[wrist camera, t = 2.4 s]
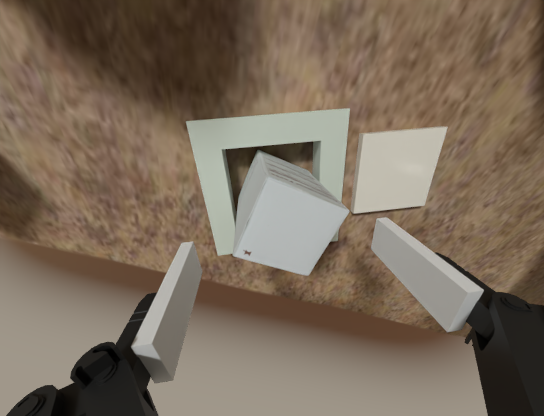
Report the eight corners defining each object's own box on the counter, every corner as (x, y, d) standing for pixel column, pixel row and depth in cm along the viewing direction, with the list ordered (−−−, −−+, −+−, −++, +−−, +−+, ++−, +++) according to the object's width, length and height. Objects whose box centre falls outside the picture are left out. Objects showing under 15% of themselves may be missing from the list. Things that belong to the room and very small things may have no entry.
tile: (440, 126, 26) (447, 126, 25) (419, 202, 31) (424, 205, 30) (359, 133, 25) (363, 134, 24) (350, 210, 30) (353, 213, 29)
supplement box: (284, 214, 29) (308, 280, 18) (237, 197, 27) (228, 258, 16) (308, 169, 26) (353, 211, 15) (257, 146, 25) (265, 175, 13)
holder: (338, 108, 24) (349, 108, 21) (329, 229, 31) (337, 240, 28) (193, 120, 22) (185, 121, 20) (220, 242, 30) (218, 255, 27)
